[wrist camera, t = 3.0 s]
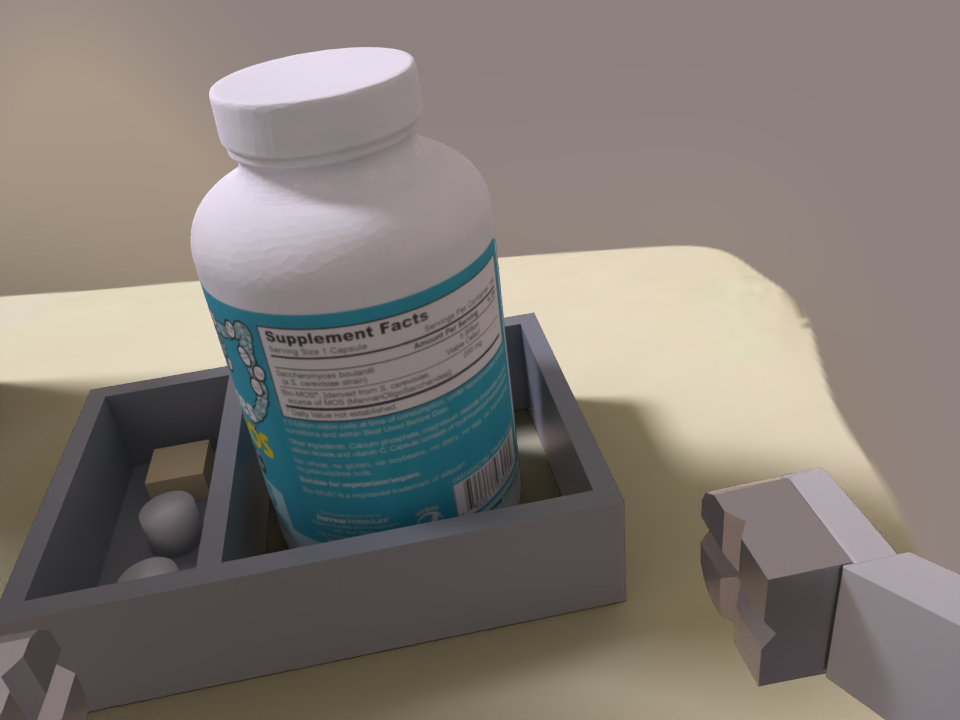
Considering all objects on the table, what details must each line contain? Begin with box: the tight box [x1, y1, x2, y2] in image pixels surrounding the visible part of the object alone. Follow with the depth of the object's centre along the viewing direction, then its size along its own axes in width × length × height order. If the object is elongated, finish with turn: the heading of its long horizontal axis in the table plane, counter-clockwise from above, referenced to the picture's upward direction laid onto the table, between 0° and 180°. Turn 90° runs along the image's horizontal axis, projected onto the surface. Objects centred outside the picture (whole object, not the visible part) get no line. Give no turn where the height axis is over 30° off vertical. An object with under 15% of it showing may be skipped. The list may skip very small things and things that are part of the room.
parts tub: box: [0, 313, 626, 712], centre depth 25 cm, size 15×10×4 cm, turn 99°
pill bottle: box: [190, 47, 521, 549], centre depth 22 cm, size 8×7×14 cm
